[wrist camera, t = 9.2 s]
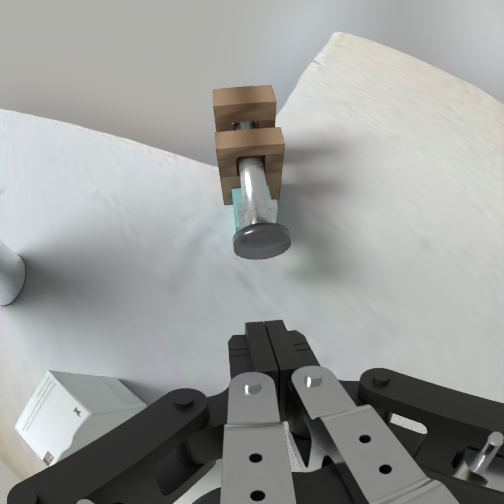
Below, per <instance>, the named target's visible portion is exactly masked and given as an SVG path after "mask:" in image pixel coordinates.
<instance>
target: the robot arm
mask: <svg viewBox="0 0 504 504" xmlns="http://www.w3.org/2000/svg"><path fill="white" fill-rule="evenodd" d="M24 280H25V265H24V262H23V260H22V258H21V257H20V256H18V255H17V254H16V253H15V252H13V251H12V250H11V249H10V248H8V247H7V246H6V245H5V244H4V243H2V242H1V241H0V305H7V304H10V303H11V302H12V301H13V300H15V299H16V297H17V296H18V294H19V293H20V291H21V289H22V286H23V284H24ZM228 348H229V362H230V375H231V381H230V384H229V387H228V388H227V389H226V390H225V391H223V392H222V393H220V394H217V395H214V396H211V397H207V398H206V396H205V395H204V394H203V393H202V392H200V391H198V390H195V389H189V388H184V389H177V390H173V391H171V392H169V393H167V394H166V395H164V396H163V397H161V398H160V399H158V400H157V401H155V402H154V403H153V404H151V405H150V406H148V407H146V408H145V409H143V410H142V411H140V412H139V413H137V414H136V415H134V416H133V417H131V418H130V419H128V420H127V421H125V422H123V423H122V424H120V425H119V426H117V427H116V428H114V429H112V430H111V431H109V432H108V433H106V434H104V435H103V436H101V437H99V438H98V439H96V440H95V441H93V442H91V443H90V444H88V445H86V446H85V447H83V448H81V449H80V450H78V451H76V452H74V453H73V454H71V455H69V456H68V457H66V458H64V459H62V460H61V461H59V462H57V463H55V464H53V465H52V466H50V467H48V468H46V469H44V470H43V471H41V472H39V473H37V474H35V475H33V476H31V477H30V478H28V479H26V480H24V481H22V482H20V483H18V484H16V485H15V486H14V487H13V488H12V489H11V490H10V492H9V494H8V497H7V504H173V503H174V502H175V501H176V500H177V499H179V498H180V497H181V496H182V495H183V494H184V493H185V492H187V491H188V490H189V489H190V488H191V487H192V486H193V485H194V484H195V483H197V482H198V481H199V480H200V479H201V478H202V477H203V476H204V475H205V474H206V473H207V472H208V471H209V470H210V469H212V468H213V466H214V465H215V463H216V460H218V459H221V458H223V460H222V479H221V487H220V488H217V489H215V490H212V491H210V492H208V493H207V494H205V495H203V496H201V497H200V498H199V499H197V500H196V501H195V502H193V503H192V504H504V403H500V402H496V401H492V400H488V399H485V398H481V397H477V396H473V395H470V394H466V393H463V392H459V391H456V390H452V389H449V388H446V387H442V386H439V385H436V384H432V383H429V382H426V381H423V380H420V379H416V378H413V377H410V376H407V375H404V374H401V373H398V372H395V371H392V370H389V369H384V368H373V369H369V370H367V371H365V372H364V373H363V374H362V375H361V377H360V381H342V380H337V378H336V377H335V375H334V374H333V373H332V372H331V371H330V370H328V369H326V368H324V367H321V366H320V365H319V363H318V361H317V359H316V357H315V355H314V353H313V351H312V350H311V348H310V346H309V344H308V342H307V340H306V338H305V336H304V335H302V334H301V333H299V332H298V331H296V330H293V331H287V329H286V327H285V325H284V323H283V320H274V321H264V323H263V321H262V322H248V323H245V335H233V336H232V337H231V339H230V340H229V342H228ZM393 413H394V414H397V415H399V416H402V417H405V418H408V419H410V420H413V421H416V422H419V423H422V424H423V425H424V426H425V427H426V428H427V433H426V434H421V433H418V432H415V431H412V430H409V429H407V428H404V427H401V426H399V425H396V424H393V423H391V422H390V421H391V418H392V415H393ZM284 421H287V422H288V425H289V431H288V437H289V440H290V443H291V445H292V448H293V450H294V453H295V455H296V458H297V460H298V462H299V465H300V467H301V470H302V472H291V467H290V461H289V455H288V448H287V442H286V436H285V430H284V425H283V422H284Z"/></svg>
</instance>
